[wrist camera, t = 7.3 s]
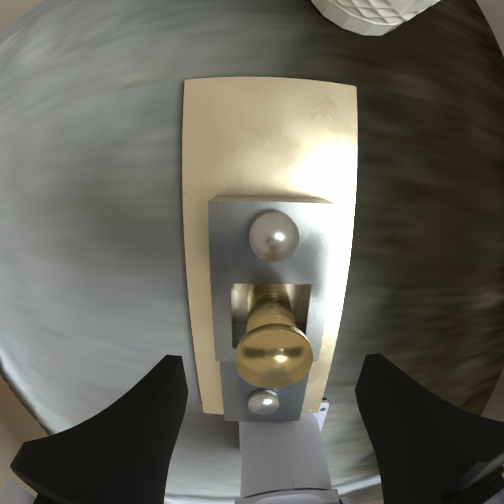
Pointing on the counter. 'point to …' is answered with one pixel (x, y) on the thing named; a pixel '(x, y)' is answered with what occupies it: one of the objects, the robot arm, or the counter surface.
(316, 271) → the door lock with knob
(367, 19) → the white cup
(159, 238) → the counter surface
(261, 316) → the brass knob
